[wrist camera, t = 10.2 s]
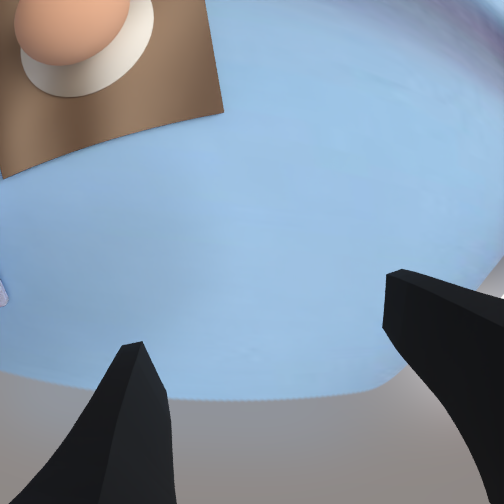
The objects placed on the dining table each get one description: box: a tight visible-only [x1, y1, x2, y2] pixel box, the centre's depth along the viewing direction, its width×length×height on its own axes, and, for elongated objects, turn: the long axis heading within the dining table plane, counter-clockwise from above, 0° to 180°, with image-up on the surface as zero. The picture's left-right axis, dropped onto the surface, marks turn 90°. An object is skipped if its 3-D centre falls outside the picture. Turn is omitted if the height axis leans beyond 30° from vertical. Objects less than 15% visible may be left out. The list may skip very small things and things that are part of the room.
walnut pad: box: [0, 0, 224, 179], centre depth 11 cm, size 12×12×1 cm
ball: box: [14, 0, 130, 66], centre depth 8 cm, size 5×5×5 cm
